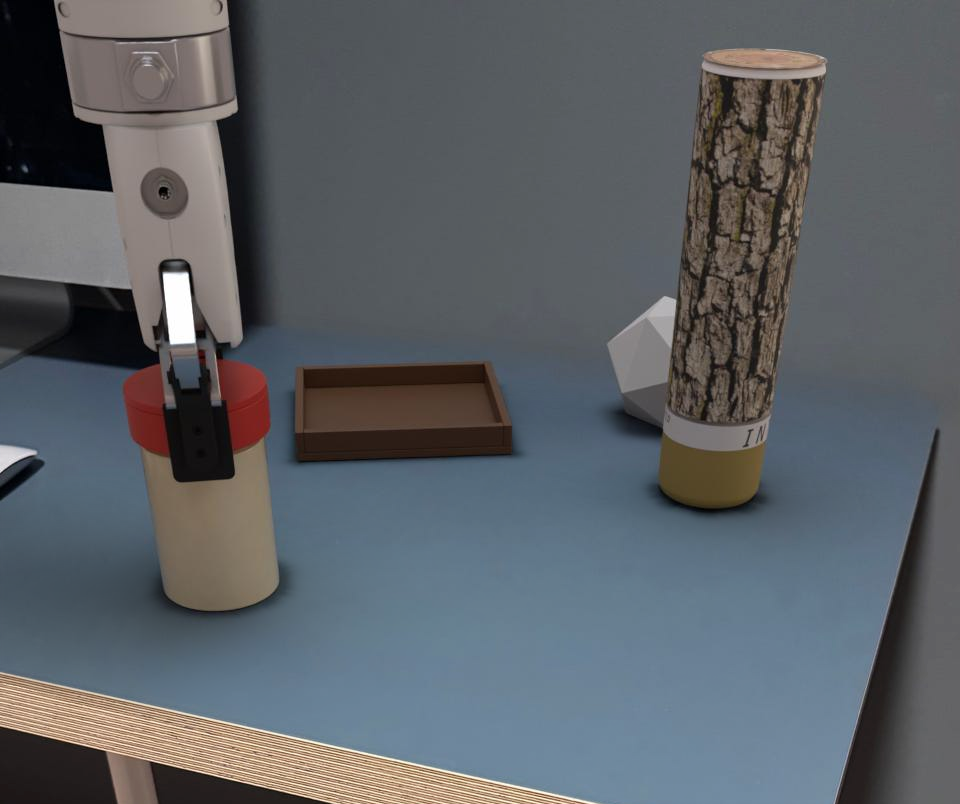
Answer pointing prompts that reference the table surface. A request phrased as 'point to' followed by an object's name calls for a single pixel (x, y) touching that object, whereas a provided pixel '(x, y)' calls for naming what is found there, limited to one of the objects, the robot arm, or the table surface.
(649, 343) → the die
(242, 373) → the jar lid
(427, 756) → the table surface
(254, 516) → the jar
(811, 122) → the paper tube
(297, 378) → the tray
